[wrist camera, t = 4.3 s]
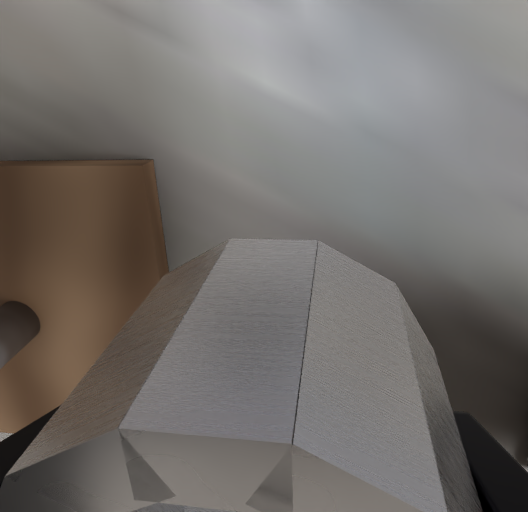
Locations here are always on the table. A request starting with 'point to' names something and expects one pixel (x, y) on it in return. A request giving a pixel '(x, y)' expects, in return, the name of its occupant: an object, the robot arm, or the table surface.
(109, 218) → the post base
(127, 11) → the table surface
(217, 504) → the tube
